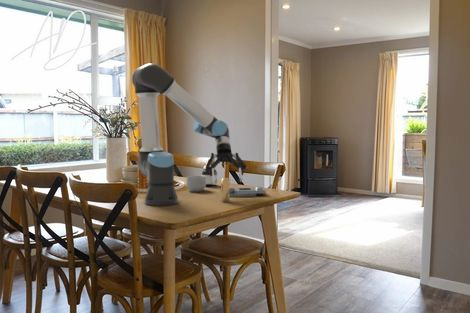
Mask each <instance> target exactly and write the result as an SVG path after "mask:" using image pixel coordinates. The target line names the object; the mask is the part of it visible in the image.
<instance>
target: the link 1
mask: <svg viewBox="0 0 470 313" xmlns="http://www.w3.org/2000/svg"><path fill="white" fill-rule="evenodd" d="M234 188H235V187H230V198H240V197H241V198H242V197H243V198H246V197H247V198H248V197H249V198H251V197H257V195H256V194H236V192H235V191H234Z"/></svg>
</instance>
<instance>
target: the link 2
mask: <svg viewBox="0 0 470 313" xmlns="http://www.w3.org/2000/svg"><path fill="white" fill-rule="evenodd" d="M233 188H234V191H235V192H236V194H256V196H263V195H264V194H266V193H267V190H266V189H265V188H264V187H262V186H257V187H253V186H249V187H233Z"/></svg>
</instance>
